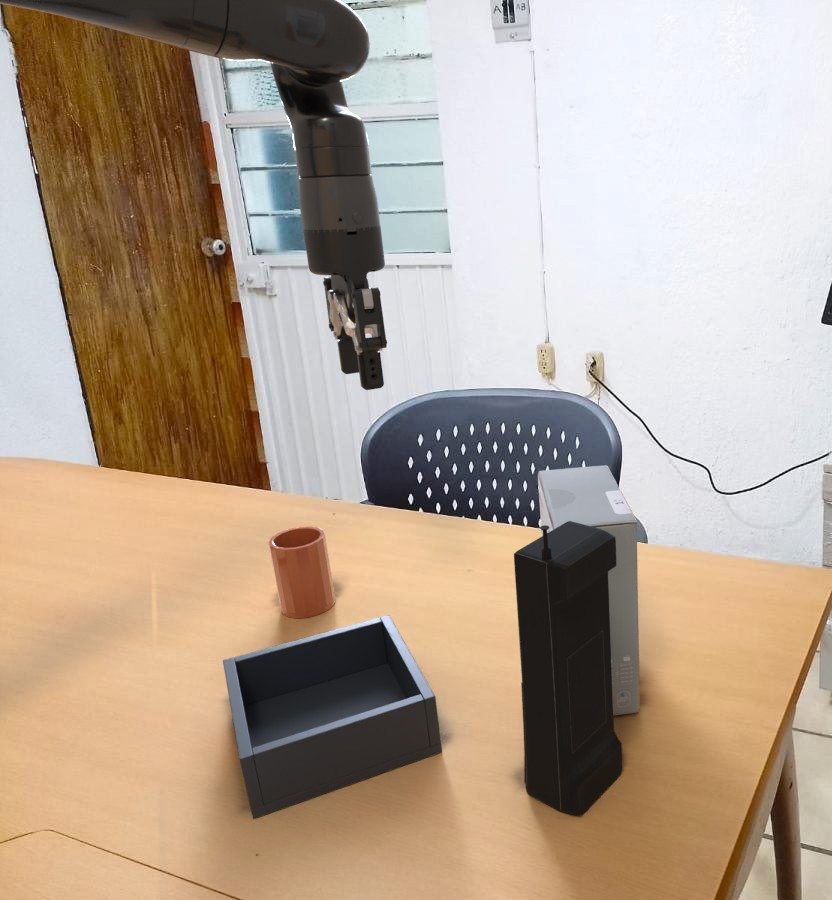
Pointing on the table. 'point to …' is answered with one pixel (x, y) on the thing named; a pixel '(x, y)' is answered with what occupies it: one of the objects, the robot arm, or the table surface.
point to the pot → (302, 571)
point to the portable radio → (567, 666)
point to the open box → (328, 713)
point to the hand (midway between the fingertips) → (362, 380)
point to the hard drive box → (604, 507)
